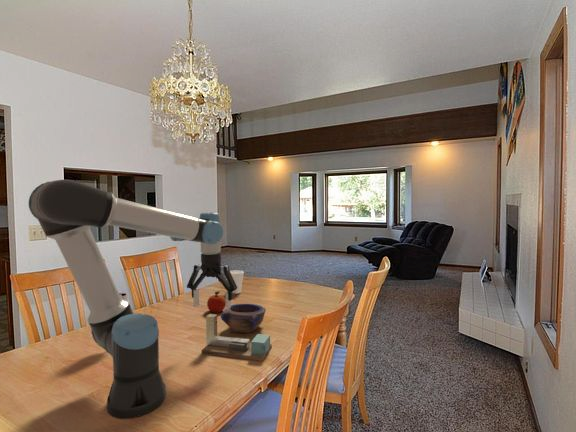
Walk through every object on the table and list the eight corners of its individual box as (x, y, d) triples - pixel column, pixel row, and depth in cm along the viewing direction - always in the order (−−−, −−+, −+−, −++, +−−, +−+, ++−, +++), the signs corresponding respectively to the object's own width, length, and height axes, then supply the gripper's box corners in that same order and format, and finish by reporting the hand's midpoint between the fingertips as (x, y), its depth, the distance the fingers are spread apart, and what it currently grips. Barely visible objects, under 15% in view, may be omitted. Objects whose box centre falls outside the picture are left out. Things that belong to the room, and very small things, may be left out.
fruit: (203, 313, 162) (203, 294, 162) (212, 307, 172) (212, 289, 171) (221, 315, 160) (220, 295, 160) (228, 309, 169) (228, 290, 169)
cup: (247, 292, 201) (247, 271, 201) (236, 296, 193) (236, 274, 192) (235, 289, 207) (235, 269, 206) (224, 293, 198) (224, 272, 198)
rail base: (262, 360, 114) (262, 351, 114) (201, 353, 120) (201, 343, 120) (271, 347, 124) (271, 338, 124) (215, 340, 130) (215, 332, 130)
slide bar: (247, 349, 120) (246, 320, 119) (206, 344, 124) (206, 316, 123) (249, 346, 122) (249, 317, 122) (210, 341, 126) (209, 314, 126)
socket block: (264, 355, 116) (264, 343, 115) (251, 353, 117) (251, 341, 117) (270, 346, 122) (270, 335, 122) (257, 345, 124) (257, 333, 123)
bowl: (270, 323, 149) (270, 302, 148) (256, 339, 132) (256, 315, 131) (235, 319, 154) (234, 299, 153) (217, 334, 136) (216, 311, 136)
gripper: (244, 252, 124) (245, 306, 125) (187, 250, 130) (188, 301, 131) (237, 255, 116) (238, 312, 118) (176, 253, 123) (178, 307, 124)
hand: (212, 307), depth 124 cm, fingers open, 13 cm apart
